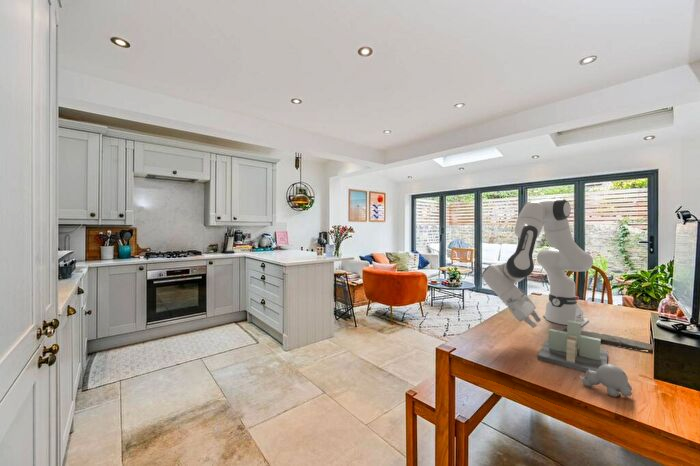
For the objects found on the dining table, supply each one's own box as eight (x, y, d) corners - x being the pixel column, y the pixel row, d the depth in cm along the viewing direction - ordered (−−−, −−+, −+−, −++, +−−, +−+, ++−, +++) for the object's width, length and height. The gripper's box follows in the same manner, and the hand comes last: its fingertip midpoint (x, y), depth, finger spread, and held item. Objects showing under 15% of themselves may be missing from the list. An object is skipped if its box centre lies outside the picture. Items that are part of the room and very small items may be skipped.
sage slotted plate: (548, 348, 120) (549, 318, 119) (549, 346, 122) (550, 316, 121) (599, 360, 109) (600, 327, 109) (600, 358, 111) (601, 326, 110)
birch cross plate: (548, 341, 131) (548, 321, 131) (607, 354, 118) (608, 332, 117) (537, 359, 113) (538, 336, 113) (606, 377, 100) (606, 351, 100)
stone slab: (565, 325, 147) (651, 339, 126) (565, 332, 147) (651, 347, 126) (562, 331, 139) (653, 347, 119) (562, 338, 139) (653, 355, 119)
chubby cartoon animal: (589, 389, 97) (577, 362, 100) (636, 389, 89) (622, 360, 91) (584, 397, 93) (573, 368, 95) (634, 398, 84) (619, 367, 87)
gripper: (511, 297, 120) (538, 326, 114) (523, 289, 136) (548, 314, 129) (499, 305, 124) (525, 334, 117) (512, 297, 139) (535, 322, 132)
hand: (537, 323), depth 123 cm, fingers open, 8 cm apart
